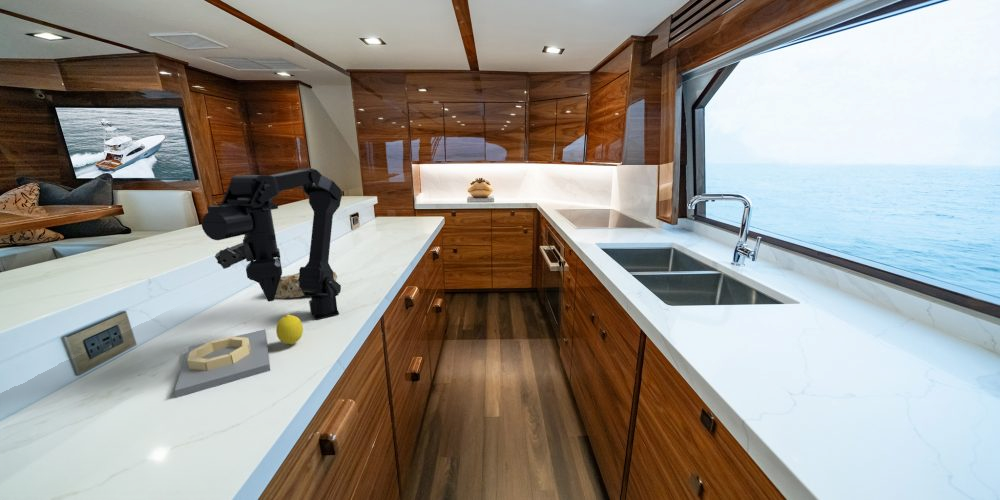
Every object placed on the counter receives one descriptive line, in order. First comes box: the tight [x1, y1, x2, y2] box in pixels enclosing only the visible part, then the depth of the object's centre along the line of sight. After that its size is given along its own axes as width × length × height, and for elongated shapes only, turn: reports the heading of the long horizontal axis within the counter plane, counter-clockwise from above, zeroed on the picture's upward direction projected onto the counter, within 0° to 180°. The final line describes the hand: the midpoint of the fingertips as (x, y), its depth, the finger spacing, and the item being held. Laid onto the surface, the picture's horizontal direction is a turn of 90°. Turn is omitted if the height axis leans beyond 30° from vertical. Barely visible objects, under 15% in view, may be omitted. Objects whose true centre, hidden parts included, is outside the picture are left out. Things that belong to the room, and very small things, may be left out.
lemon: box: [275, 313, 304, 346], centre depth 82 cm, size 6×6×8 cm
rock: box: [274, 269, 338, 299], centre depth 118 cm, size 21×14×10 cm
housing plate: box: [174, 328, 271, 398], centre depth 76 cm, size 15×20×4 cm
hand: (270, 294), depth 80 cm, fingers open, 9 cm apart
